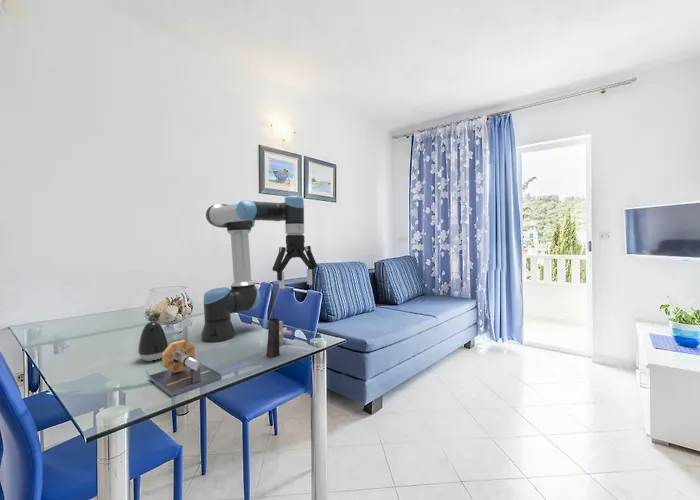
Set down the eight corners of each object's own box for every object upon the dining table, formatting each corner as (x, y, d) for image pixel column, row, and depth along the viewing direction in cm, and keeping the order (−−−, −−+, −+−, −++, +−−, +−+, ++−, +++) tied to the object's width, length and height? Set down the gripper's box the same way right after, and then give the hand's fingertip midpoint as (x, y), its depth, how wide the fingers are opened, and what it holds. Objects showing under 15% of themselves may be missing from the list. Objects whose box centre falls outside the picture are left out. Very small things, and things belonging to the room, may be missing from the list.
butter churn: (287, 358, 127) (285, 287, 125) (262, 361, 124) (260, 289, 123) (285, 350, 135) (283, 284, 134) (262, 353, 133) (259, 286, 131)
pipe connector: (287, 347, 139) (286, 325, 138) (266, 346, 141) (265, 324, 140) (295, 340, 148) (295, 319, 148) (275, 339, 150) (275, 318, 150)
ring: (162, 374, 109) (161, 345, 109) (192, 364, 117) (191, 337, 116) (165, 375, 108) (163, 346, 108) (195, 366, 116) (194, 338, 115)
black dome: (137, 366, 122) (135, 326, 121) (140, 357, 131) (138, 320, 130) (168, 361, 127) (166, 322, 126) (169, 352, 136) (167, 317, 135)
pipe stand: (149, 379, 110) (147, 354, 109) (196, 365, 122) (195, 342, 121) (171, 397, 97) (169, 368, 97) (221, 378, 109) (220, 353, 109)
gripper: (272, 234, 119) (274, 291, 120) (324, 234, 136) (325, 283, 137) (262, 235, 124) (264, 289, 126) (313, 234, 142) (314, 282, 143)
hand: (296, 286), depth 131 cm, fingers open, 13 cm apart
